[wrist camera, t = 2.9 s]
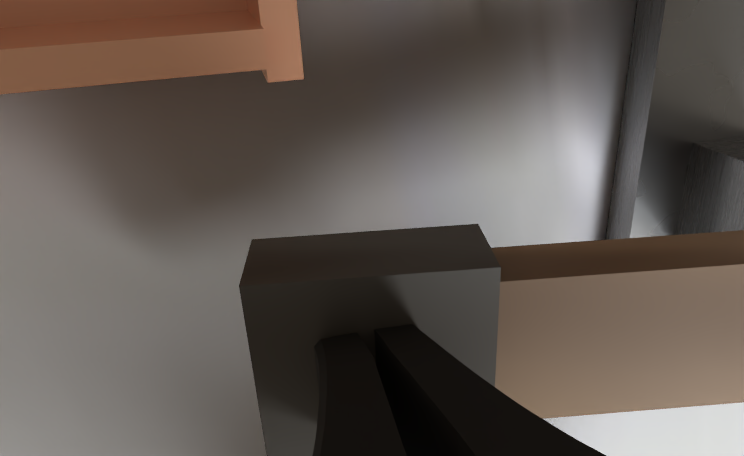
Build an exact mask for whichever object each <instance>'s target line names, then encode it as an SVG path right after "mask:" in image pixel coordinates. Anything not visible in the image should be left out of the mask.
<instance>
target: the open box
mask: <svg viewBox="0 0 744 456" xmlns="http://www.w3.org/2000/svg"><path fill="white" fill-rule="evenodd" d="M256 70H261V71H262V73H263V75H264V76H265V78H266V80H267V82H268V83H270V82H280V81H290V80H300V79H304V74H303V63H302V53H301V42H300V31H299V21H298V10H297V0H0V94H10V93H20V92H31V91H42V90H52V89H63V88H74V87H84V86H95V85H106V84H116V83H127V82H138V81H149V80H159V79H170V78H181V77H191V76H202V75H213V74H223V73H234V72H245V71H256Z"/></svg>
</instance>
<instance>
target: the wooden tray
mask: <svg viewBox="0 0 744 456" xmlns="http://www.w3.org/2000/svg"><path fill="white" fill-rule="evenodd" d="M239 288H240V294H241V300H242V306H243V312H244V319H245V325H246V331H247V337H248V343H249V349H250V355H251V361H252V367H253V373H254V379H255V386H256V392H257V398H258V404H259V410H260V416H261V422H262V428H263V434H264V440H265V447H266V453H267V456H313V450H314V444H315V438H316V430H317V419H318V407H319V389H318V379H317V370H316V361H315V352H314V346H315V345H316V344H317V343H318V341H319V340H320V339H325V338H330V337H335V336H340V335H345V334H350V333H356V332H357V333H358V334H359V336H360V337H361V339H362V340H363V341H364V343H365V344H366V346H367V348H368V349H369V351H370V353H371V354H372V356H373V359H374V361H375V364H376V350H375V332H374V329H379V328H387V327H394V326H401V325H409V324H413V325H414V326H416V327H417V328H418V329H419V330H421V331H422V332H423V333H425V334H426V335H427V336H428V337H430V338H431V339H432V340H433V341H435V342H436V343H437V344H439V345H440V346H441V347H442V348H444V349H445V350H446V351H447V352H449V353H450V354H451V355H453V356H454V357H455V358H456V359H458V360H459V361H460V362H462V363H463V364H464V365H465V366H467V367H468V368H469V369H471V370H472V371H473V372H475V373H476V374H477V375H479V376H480V377H482V378H483V379H484V380H486V381H487V382H488V383H490V384H491V385H493V386H494V387H495V388H497V389H498V390H500V391H501V392H502V393H504V394H505V395H507V396H508V397H510V398H511V399H512V400H514V401H515V402H517V403H518V404H520V405H521V406H523V407H524V408H526V409H528V410H529V411H531V412H532V413H534V414H535V415H537V416H539V417H540V418H555V417H567V416H579V415H592V414H604V413H616V412H629V411H641V410H653V409H666V408H678V407H690V406H703V405H715V404H727V403H740V402H744V230H738V231H724V232H710V233H696V234H682V235H667V236H653V237H639V238H625V239H611V240H597V241H582V242H568V243H554V244H540V245H526V246H511V247H497V248H490V246H489V244H488V242H487V240H486V238H485V236H484V234H483V233H482V231H481V229H480V227H479V225H478V224H469V225H455V226H440V227H426V228H412V229H397V230H383V231H368V232H354V233H339V234H325V235H310V236H296V237H281V238H267V239H252V241H251V245H250V248H249V252H248V256H247V259H246V263H245V267H244V270H243V274H242V278H241V281H240V285H239Z"/></svg>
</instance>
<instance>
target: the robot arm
mask: <svg viewBox="0 0 744 456" xmlns="http://www.w3.org/2000/svg"><path fill="white" fill-rule="evenodd" d="M374 332H375V350H376V364H375V361H374V359H373V356H372V354H371V353H370V351H369V349H368V348H367V346H366V344H365V343H364V341H363V340H362V339H361V337H360V336H359V334H358V333H357V332H356V333H350V334H345V335H340V336H335V337H330V338H325V339H320V340H319V341H318V343H317V344H316V345H315V346H314V352H315V361H316V370H317V379H318V389H319V407H318V419H317V430H316V438H315V444H314V450H313V456H606V455H604V454H602V453H600V452H598V451H597V450H595V449H593V448H591V447H589V446H587V445H585V444H584V443H582V442H580V441H578V440H576V439H575V438H573V437H571V436H570V435H568V434H566V433H564V432H563V431H561V430H559V429H558V428H556V427H554V426H553V425H551V424H550V423H548V422H547V421H545V420H543V419H542V418H540V417H539V416H537V415H535V414H534V413H532V412H531V411H529V410H528V409H526V408H524V407H523V406H521V405H520V404H518V403H517V402H515V401H514V400H512V399H511V398H510V397H508V396H507V395H505V394H504V393H502V392H501V391H500V390H498V389H497V388H495V387H494V386H493V385H491V384H490V383H488V382H487V381H486V380H484V379H483V378H482V377H480V376H479V375H477V374H476V373H475V372H473V371H472V370H471V369H469V368H468V367H467V366H465V365H464V364H463V363H462V362H460V361H459V360H458V359H456V358H455V357H454V356H453V355H451V354H450V353H449V352H447V351H446V350H445V349H444V348H442V347H441V346H440V345H439V344H437V343H436V342H435V341H433V340H432V339H431V338H430V337H428V336H427V335H426V334H425V333H423V332H422V331H421V330H419V329H418V328H417V327H416V326H414V325H413V324H409V325H401V326H394V327H387V328H379V329H374Z"/></svg>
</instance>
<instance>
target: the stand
mask: <svg viewBox="0 0 744 456" xmlns="http://www.w3.org/2000/svg"><path fill="white" fill-rule="evenodd" d="M738 230H744V0H638V1H637V8H636V16H635V23H634V31H633V38H632V46H631V53H630V61H629V68H628V76H627V83H626V91H625V98H624V106H623V113H622V121H621V129H620V136H619V144H618V151H617V159H616V166H615V174H614V181H613V189H612V196H611V204H610V211H609V219H608V226H607V234H606V240H611V239H625V238H639V237H653V236H667V235H682V234H696V233H710V232H724V231H738Z"/></svg>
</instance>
